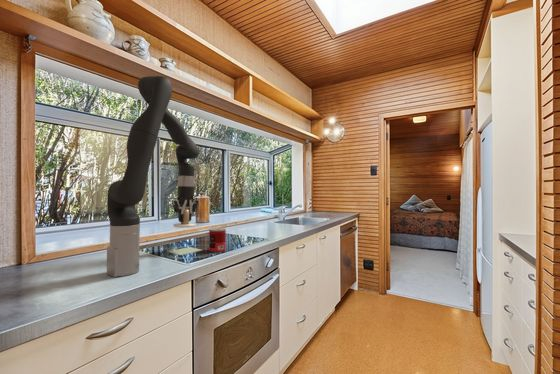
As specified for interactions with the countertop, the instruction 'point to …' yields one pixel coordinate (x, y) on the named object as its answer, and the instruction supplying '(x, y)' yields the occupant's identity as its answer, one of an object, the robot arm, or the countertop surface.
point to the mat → (184, 251)
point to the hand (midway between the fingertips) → (184, 221)
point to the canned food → (217, 239)
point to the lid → (185, 221)
